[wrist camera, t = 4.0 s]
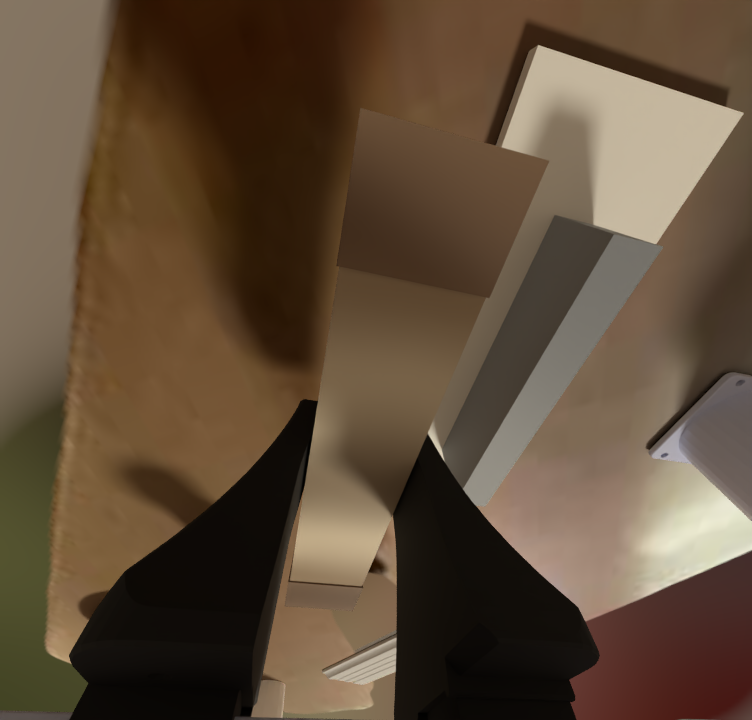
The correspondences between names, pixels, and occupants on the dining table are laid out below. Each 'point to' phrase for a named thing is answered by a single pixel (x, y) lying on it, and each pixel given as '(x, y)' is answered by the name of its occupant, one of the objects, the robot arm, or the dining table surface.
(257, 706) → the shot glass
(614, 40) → the dining table surface
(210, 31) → the dining table surface
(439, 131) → the shiny metallic bar
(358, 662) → the baseboard
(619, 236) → the ridge stand
